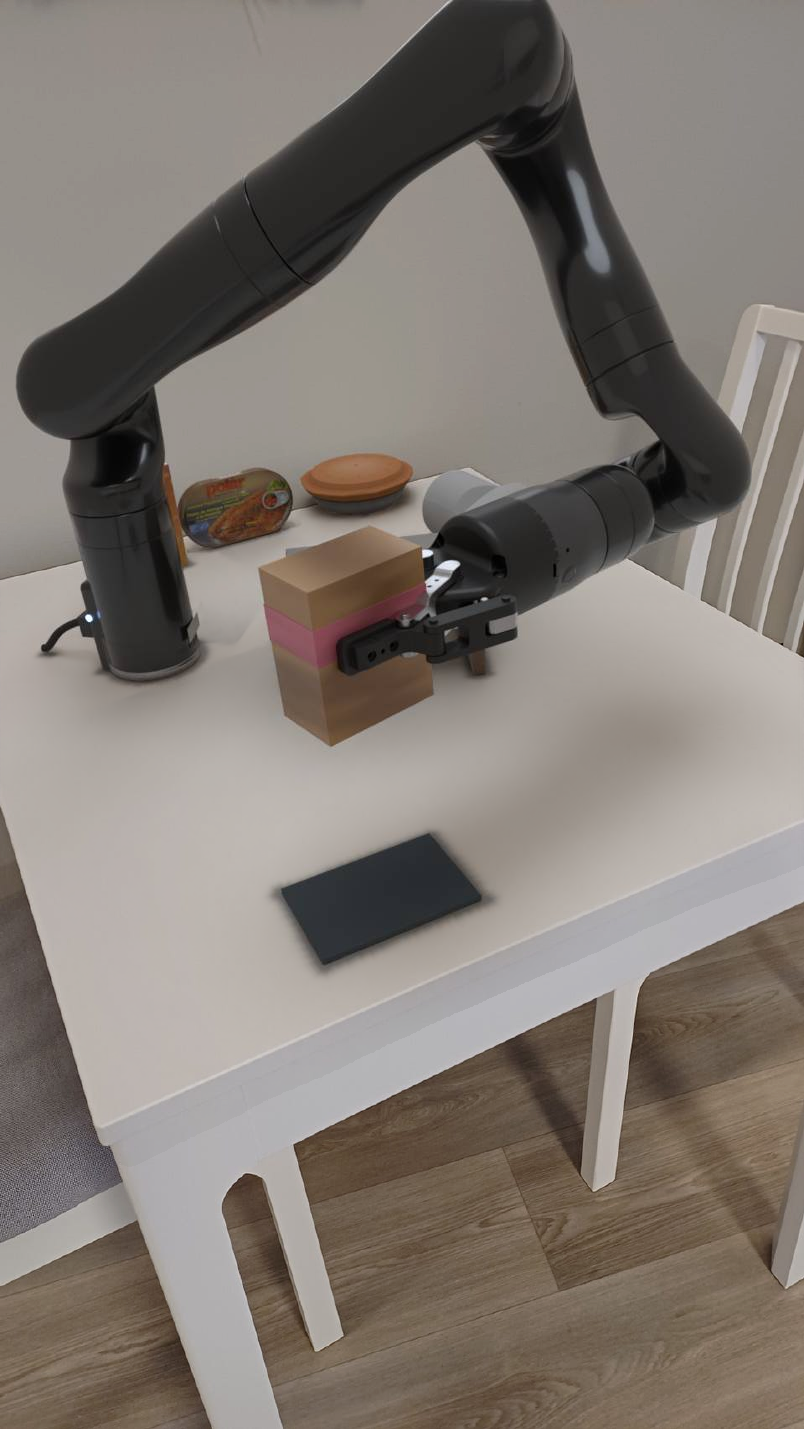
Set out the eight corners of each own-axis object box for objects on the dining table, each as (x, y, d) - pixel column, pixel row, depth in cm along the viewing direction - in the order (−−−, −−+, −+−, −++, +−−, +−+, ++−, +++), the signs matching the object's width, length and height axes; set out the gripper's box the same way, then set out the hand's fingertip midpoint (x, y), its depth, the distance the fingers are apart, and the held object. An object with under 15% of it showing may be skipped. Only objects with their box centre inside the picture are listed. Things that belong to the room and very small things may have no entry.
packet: (330, 748, 58) (306, 593, 53) (283, 715, 61) (256, 567, 56) (435, 694, 62) (423, 546, 57) (385, 667, 65) (369, 524, 60)
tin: (188, 555, 126) (175, 491, 121) (181, 547, 128) (168, 484, 124) (298, 526, 131) (289, 464, 127) (289, 519, 134) (280, 458, 129)
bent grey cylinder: (598, 561, 111) (493, 512, 126) (584, 477, 105) (475, 436, 120) (473, 639, 107) (379, 579, 121) (451, 556, 100) (354, 503, 115)
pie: (372, 473, 147) (369, 439, 144) (437, 498, 136) (435, 462, 133) (283, 501, 140) (278, 467, 137) (344, 530, 129) (340, 493, 126)
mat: (323, 964, 65) (322, 960, 65) (281, 892, 71) (280, 888, 71) (482, 899, 69) (481, 895, 69) (429, 836, 75) (429, 832, 75)
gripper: (446, 474, 69) (236, 550, 60) (605, 524, 59) (381, 624, 50) (453, 573, 73) (257, 658, 64) (602, 635, 63) (394, 745, 54)
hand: (313, 642), depth 57 cm, fingers closed on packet, 5 cm apart
